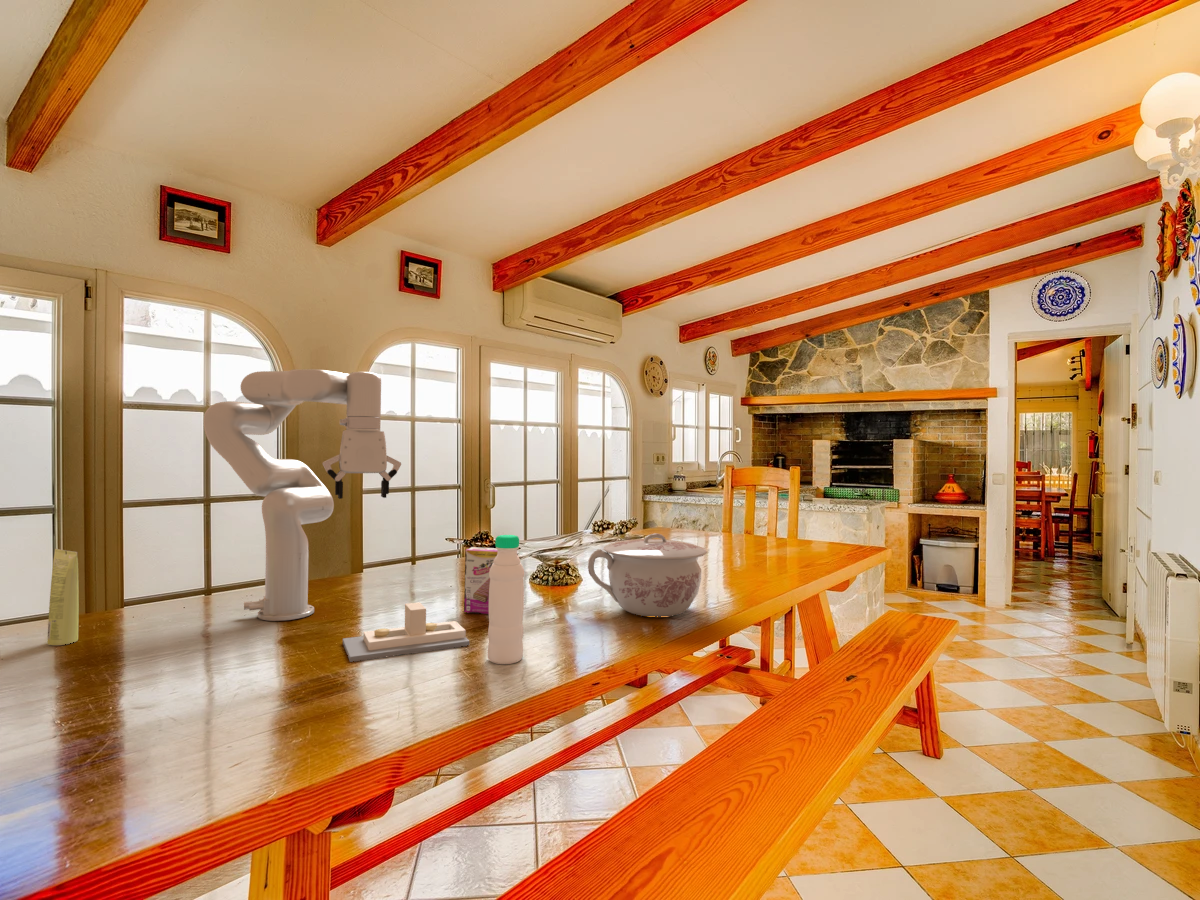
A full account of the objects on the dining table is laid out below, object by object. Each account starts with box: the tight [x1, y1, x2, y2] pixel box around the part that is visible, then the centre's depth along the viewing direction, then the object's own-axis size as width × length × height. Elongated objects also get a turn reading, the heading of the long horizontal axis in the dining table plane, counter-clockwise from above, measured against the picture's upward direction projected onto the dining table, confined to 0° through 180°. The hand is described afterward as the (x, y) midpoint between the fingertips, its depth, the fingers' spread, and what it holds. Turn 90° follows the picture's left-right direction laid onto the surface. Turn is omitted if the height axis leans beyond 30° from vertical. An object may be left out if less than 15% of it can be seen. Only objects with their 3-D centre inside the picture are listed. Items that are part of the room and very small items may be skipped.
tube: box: [47, 548, 80, 646], centre depth 131 cm, size 6×5×20 cm
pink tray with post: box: [362, 601, 467, 650], centre depth 135 cm, size 20×8×7 cm, turn 118°
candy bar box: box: [463, 546, 498, 615], centre depth 161 cm, size 11×5×16 cm, turn 84°
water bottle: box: [487, 534, 525, 665], centre depth 126 cm, size 7×7×25 cm
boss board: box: [342, 622, 470, 663], centre depth 134 cm, size 24×13×4 cm, turn 118°
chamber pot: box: [587, 533, 708, 617], centre depth 165 cm, size 28×28×21 cm
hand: (362, 497), depth 146 cm, fingers open, 9 cm apart
